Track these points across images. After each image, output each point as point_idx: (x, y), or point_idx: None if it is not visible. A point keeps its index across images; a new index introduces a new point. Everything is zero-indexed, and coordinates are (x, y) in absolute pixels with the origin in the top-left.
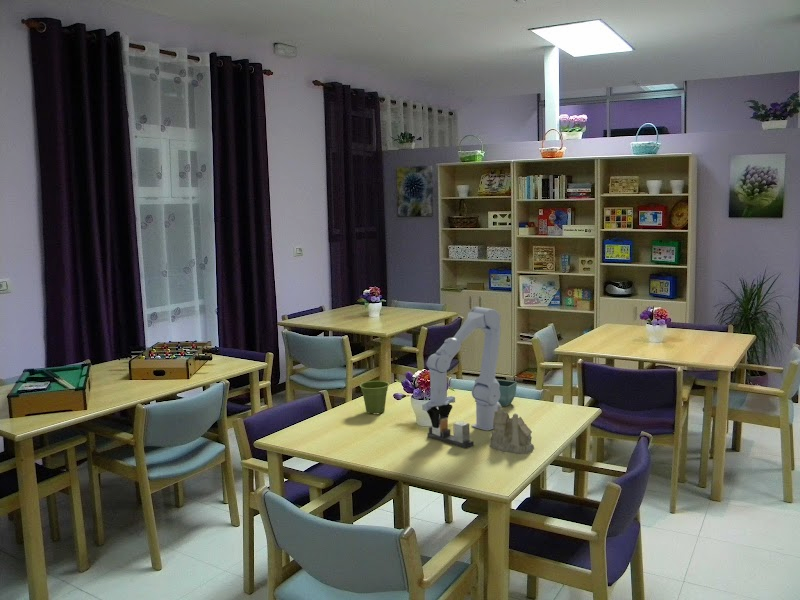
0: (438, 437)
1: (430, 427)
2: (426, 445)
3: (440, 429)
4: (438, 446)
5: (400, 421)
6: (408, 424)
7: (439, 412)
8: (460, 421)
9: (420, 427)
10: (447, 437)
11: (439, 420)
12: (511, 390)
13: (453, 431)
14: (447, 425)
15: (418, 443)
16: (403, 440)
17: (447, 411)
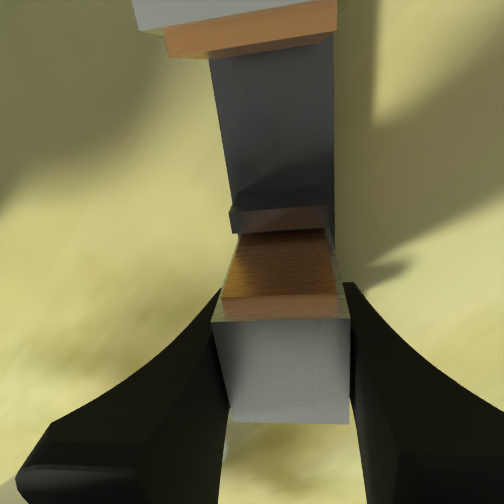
0: (333, 230)
1: None
2: (494, 193)
3: (332, 250)
4: (456, 101)
5: (262, 501)
6: (261, 469)
7: (413, 419)
8: (153, 12)
9: (245, 423)
10: (304, 156)
11: (347, 321)
12: None
13: (323, 40)
14: (235, 257)
15: (487, 265)
16: (489, 359)
17: (178, 394)
